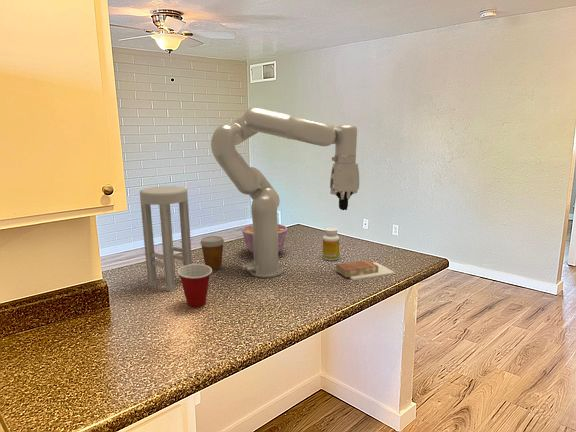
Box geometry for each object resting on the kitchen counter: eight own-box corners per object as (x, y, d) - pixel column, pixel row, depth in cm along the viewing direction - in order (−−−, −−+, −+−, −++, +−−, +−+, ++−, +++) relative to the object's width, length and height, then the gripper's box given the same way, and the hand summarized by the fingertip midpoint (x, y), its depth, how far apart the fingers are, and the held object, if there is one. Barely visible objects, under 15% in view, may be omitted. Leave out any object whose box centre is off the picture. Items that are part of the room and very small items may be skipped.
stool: (171, 273, 166) (164, 184, 159) (201, 280, 159) (195, 187, 151) (139, 286, 153) (130, 190, 146) (170, 294, 146) (162, 194, 138)
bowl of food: (236, 250, 194) (235, 226, 191) (276, 244, 202) (276, 221, 199) (251, 263, 176) (251, 236, 174) (295, 256, 184) (294, 231, 182)
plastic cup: (193, 314, 131) (191, 277, 128) (173, 305, 137) (170, 270, 135) (220, 303, 139) (219, 268, 136) (200, 294, 145) (198, 261, 143)
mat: (353, 280, 156) (353, 278, 156) (337, 269, 168) (337, 267, 168) (394, 273, 163) (394, 272, 163) (376, 263, 175) (376, 262, 174)
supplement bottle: (339, 260, 178) (340, 231, 176) (322, 260, 179) (323, 231, 176) (338, 255, 185) (338, 227, 182) (321, 255, 186) (322, 227, 183)
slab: (346, 271, 157) (378, 266, 162) (336, 264, 165) (367, 259, 170) (345, 277, 158) (378, 272, 163) (336, 270, 165) (367, 265, 170)
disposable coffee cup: (227, 263, 176) (226, 235, 174) (222, 271, 167) (220, 242, 164) (205, 263, 177) (203, 235, 175) (198, 271, 168) (196, 242, 165)
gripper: (331, 161, 148) (329, 212, 152) (368, 160, 153) (365, 210, 157) (322, 159, 154) (320, 208, 159) (358, 158, 160) (355, 206, 164)
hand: (343, 209), depth 158 cm, fingers closed
